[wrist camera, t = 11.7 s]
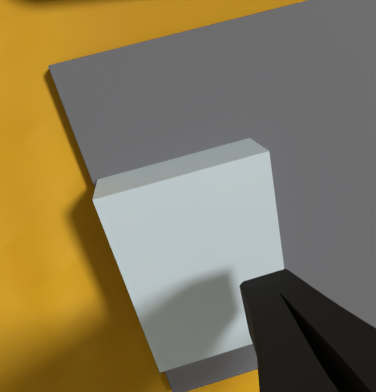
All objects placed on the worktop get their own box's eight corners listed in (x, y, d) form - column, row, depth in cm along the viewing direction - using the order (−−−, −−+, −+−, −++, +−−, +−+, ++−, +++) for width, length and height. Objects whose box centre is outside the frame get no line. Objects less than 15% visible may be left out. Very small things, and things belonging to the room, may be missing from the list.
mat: (415, 310, 16) (422, 316, 15) (172, 387, 15) (174, 395, 15) (444, -34, 10) (456, -37, 10) (51, 65, 9) (47, 65, 9)
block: (292, 331, 12) (159, 372, 12) (274, 301, 13) (156, 337, 13) (269, 150, 9) (91, 199, 9) (250, 137, 11) (97, 179, 10)
